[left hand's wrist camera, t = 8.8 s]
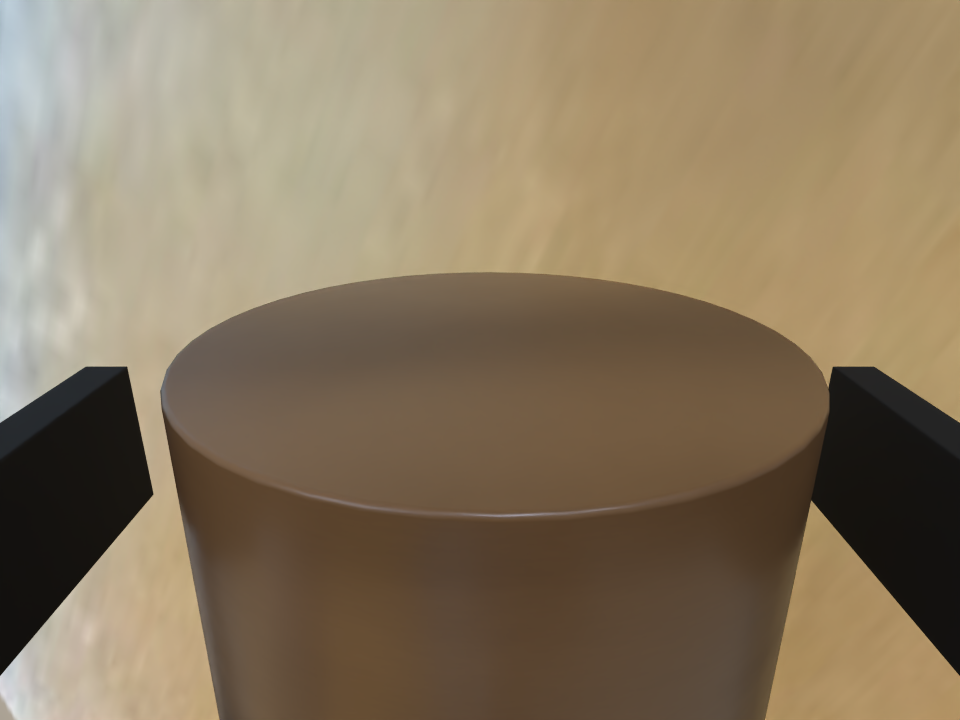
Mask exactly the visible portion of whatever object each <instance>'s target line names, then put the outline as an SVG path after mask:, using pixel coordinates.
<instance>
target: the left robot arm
mask: <svg viewBox="0 0 960 720" xmlns="http://www.w3.org/2000/svg"><path fill="white" fill-rule="evenodd" d="M828 390H829V393H830V410H829V417H828V422H827V426H826V431H825V436H824V441H823V445H822V450H821V455H820V460H819V464H818V469H817V474H816V479H815V484H814V488H813V493H812V498H811V500H812V501H813V503H814V504H815V505H816V506H817V507H818V509H819V510H820V511H821V512H822V513H823V514H824V516H825V517H826V518H827V519H828V520H829V522H830V523H831V524H832V525H833V526H834V527H835V529H836V530H837V531H838V532H839V533H840V535H841V536H842V537H843V538H844V539H845V540H846V542H847V543H848V544H849V545H850V546H851V548H852V549H853V550H854V551H855V552H856V554H857V555H858V556H859V557H860V558H861V559H862V561H863V562H864V563H865V564H866V565H867V567H868V568H869V569H870V570H871V571H872V572H873V574H874V575H875V576H876V577H877V578H878V580H879V581H880V582H881V583H882V584H883V585H884V587H885V588H886V589H887V590H888V591H889V593H890V594H891V595H892V596H893V597H894V598H895V600H896V601H897V602H898V603H899V604H900V606H901V607H902V608H903V609H904V610H905V612H906V613H907V614H908V615H909V616H910V617H911V619H912V620H913V621H914V622H915V623H916V625H917V626H918V627H919V628H920V629H921V630H922V632H923V633H924V634H925V635H926V636H927V638H928V639H929V640H930V641H931V642H932V643H933V645H934V646H935V647H936V648H937V649H938V651H939V652H940V653H941V654H942V655H943V656H944V658H945V659H946V660H947V661H948V662H949V664H950V665H951V666H952V667H953V668H954V670H955V671H956V672H957V673H958V674H959V675H960V423H959V422H957V421H956V420H954V419H953V418H951V417H950V416H948V415H947V414H945V413H944V412H942V411H941V410H939V409H938V408H936V407H935V406H933V405H932V404H930V403H929V402H927V401H926V400H924V399H922V398H921V397H919V396H918V395H916V394H915V393H913V392H912V391H910V390H909V389H907V388H906V387H904V386H903V385H901V384H900V383H898V382H897V381H895V380H894V379H892V378H890V377H889V376H887V375H886V374H884V373H883V372H881V371H880V370H878V369H877V368H875V367H833V369H832V374H831V378H830V383H829V388H828ZM152 496H153V490H152V485H151V480H150V475H149V470H148V465H147V461H146V456H145V451H144V446H143V441H142V436H141V432H140V427H139V422H138V417H137V412H136V407H135V403H134V398H133V393H132V388H131V383H130V378H129V374H128V369H127V367H85V368H83V369H82V370H80V371H79V372H77V373H76V374H74V375H73V376H71V377H70V378H68V379H66V380H65V381H63V382H62V383H60V384H59V385H57V386H56V387H54V388H53V389H51V390H50V391H48V392H47V393H45V394H44V395H42V396H41V397H39V398H38V399H36V400H34V401H33V402H31V403H30V404H28V405H27V406H25V407H24V408H22V409H21V410H19V411H18V412H16V413H15V414H13V415H12V416H10V417H9V418H7V419H6V420H4V421H3V422H1V423H0V675H1V674H2V673H3V672H4V671H5V670H6V668H7V667H8V666H9V665H10V664H11V662H12V661H13V660H14V659H15V658H16V656H17V655H18V654H19V653H20V652H21V651H22V649H23V648H24V647H25V646H26V645H27V643H28V642H29V641H30V640H31V639H32V638H33V636H34V635H35V634H36V633H37V632H38V630H39V629H40V628H41V627H42V626H43V625H44V623H45V622H46V621H47V620H48V619H49V617H50V616H51V615H52V614H53V613H54V612H55V610H56V609H57V608H58V607H59V606H60V604H61V603H62V602H63V601H64V600H65V598H66V597H67V596H68V595H69V594H70V593H71V591H72V590H73V589H74V588H75V587H76V585H77V584H78V583H79V582H80V581H81V580H82V578H83V577H84V576H85V575H86V574H87V572H88V571H89V570H90V569H91V568H92V567H93V565H94V564H95V563H96V562H97V561H98V559H99V558H100V557H101V556H102V555H103V554H104V552H105V551H106V550H107V549H108V548H109V546H110V545H111V544H112V543H113V542H114V540H115V539H116V538H117V537H118V536H119V535H120V533H121V532H122V531H123V530H124V529H125V527H126V526H127V525H128V524H129V523H130V522H131V520H132V519H133V518H134V517H135V516H136V514H137V513H138V512H139V511H140V510H141V509H142V507H143V506H144V505H145V504H146V503H147V501H148V500H149V499H150V498H151V497H152Z"/></svg>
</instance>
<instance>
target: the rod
mask: <svg viewBox="0 0 960 720" xmlns="http://www.w3.org/2000/svg"><path fill="white" fill-rule="evenodd" d="M160 392H161V405H162V413H163V418H164V423H165V429H166V434H167V440H168V445H169V450H170V456H171V461H172V466H173V472H174V477H175V483H176V488H177V493H178V499H179V504H180V509H181V515H182V520H183V526H184V531H185V536H186V542H187V547H188V552H189V558H190V563H191V569H192V574H193V579H194V585H195V590H196V595H197V601H198V606H199V611H200V617H201V622H202V628H203V633H204V638H205V644H206V649H207V654H208V660H209V665H210V671H211V676H212V681H213V687H214V692H215V697H216V703H217V708H218V714H219V719H220V720H765V717H766V712H767V707H768V703H769V698H770V693H771V688H772V684H773V679H774V674H775V669H776V664H777V660H778V655H779V650H780V645H781V641H782V636H783V631H784V626H785V622H786V617H787V612H788V607H789V603H790V598H791V593H792V588H793V584H794V579H795V574H796V569H797V564H798V560H799V555H800V550H801V545H802V541H803V536H804V531H805V526H806V522H807V517H808V512H809V507H810V503H811V498H812V493H813V488H814V484H815V479H816V474H817V469H818V464H819V460H820V455H821V450H822V445H823V441H824V436H825V431H826V426H827V422H828V417H829V410H830V393H829V390H828V387H827V384H826V382H825V379H824V376H823V374H822V372H821V371H820V369H819V368H818V367H817V365H816V364H815V363H814V361H813V360H812V359H811V357H809V356H808V355H807V354H806V353H805V352H804V351H803V350H802V349H800V348H799V347H798V346H797V345H796V344H795V343H793V342H792V341H790V340H789V339H787V338H785V337H784V336H782V335H781V334H779V333H778V332H776V331H774V330H772V329H770V328H769V327H767V326H765V325H763V324H761V323H759V322H757V321H755V320H753V319H750V318H748V317H745V316H743V315H740V314H738V313H736V312H733V311H731V310H728V309H725V308H722V307H719V306H716V305H713V304H710V303H707V302H704V301H701V300H697V299H694V298H690V297H686V296H683V295H679V294H675V293H671V292H666V291H662V290H658V289H653V288H648V287H642V286H637V285H632V284H626V283H619V282H613V281H606V280H599V279H590V278H581V277H572V276H560V275H547V274H529V273H493V272H486V273H445V274H427V275H414V276H403V277H393V278H384V279H376V280H369V281H362V282H355V283H350V284H344V285H339V286H333V287H328V288H323V289H319V290H314V291H310V292H306V293H302V294H298V295H294V296H291V297H287V298H284V299H280V300H277V301H274V302H271V303H268V304H265V305H262V306H259V307H256V308H253V309H251V310H249V311H246V312H244V313H241V314H239V315H237V316H234V317H232V318H230V319H228V320H226V321H224V322H222V323H220V324H218V325H216V326H214V327H212V328H211V329H209V330H207V331H206V332H204V333H203V334H202V335H200V336H199V337H197V338H196V339H194V340H193V341H191V342H190V343H189V344H188V345H187V346H186V347H185V348H184V349H183V350H182V351H181V352H180V353H178V354H177V356H176V357H175V359H174V360H173V362H172V363H171V364H170V366H169V367H168V369H167V371H166V374H165V377H164V381H163V384H162V387H161V391H160Z"/></svg>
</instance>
